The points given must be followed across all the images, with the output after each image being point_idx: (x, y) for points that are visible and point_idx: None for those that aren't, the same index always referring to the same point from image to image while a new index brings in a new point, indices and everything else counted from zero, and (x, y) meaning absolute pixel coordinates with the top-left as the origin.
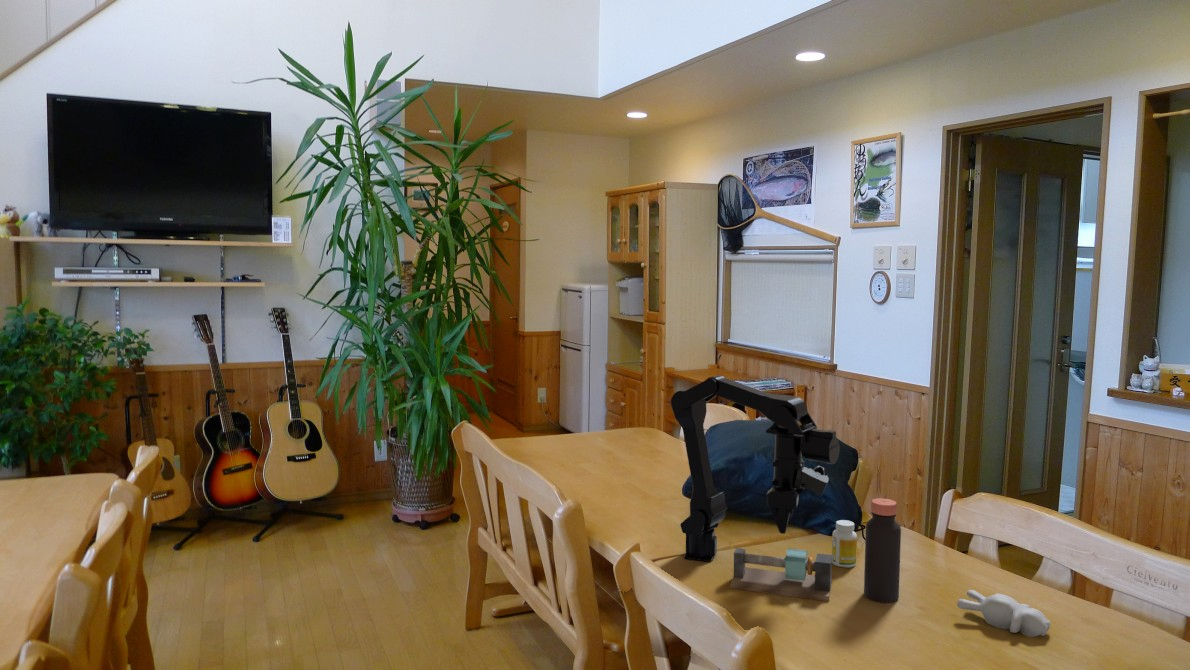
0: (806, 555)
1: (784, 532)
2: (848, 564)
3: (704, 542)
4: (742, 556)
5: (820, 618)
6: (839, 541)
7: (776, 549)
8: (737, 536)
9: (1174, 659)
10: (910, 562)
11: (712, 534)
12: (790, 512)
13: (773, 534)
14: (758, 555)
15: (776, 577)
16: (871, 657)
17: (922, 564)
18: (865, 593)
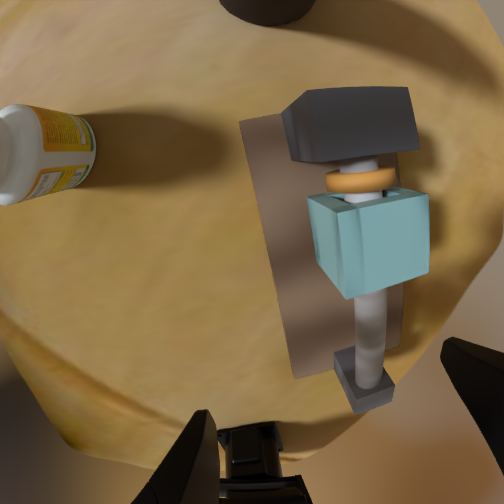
0: (368, 203)
1: (456, 340)
2: (86, 123)
3: (273, 460)
4: (391, 380)
5: (458, 119)
6: (48, 152)
7: (97, 345)
8: (102, 418)
9: None
10: (11, 40)
11: (260, 470)
12: (205, 449)
13: (38, 366)
14: (378, 356)
15: (327, 279)
16: (500, 47)
17: (16, 20)
18: (298, 17)
